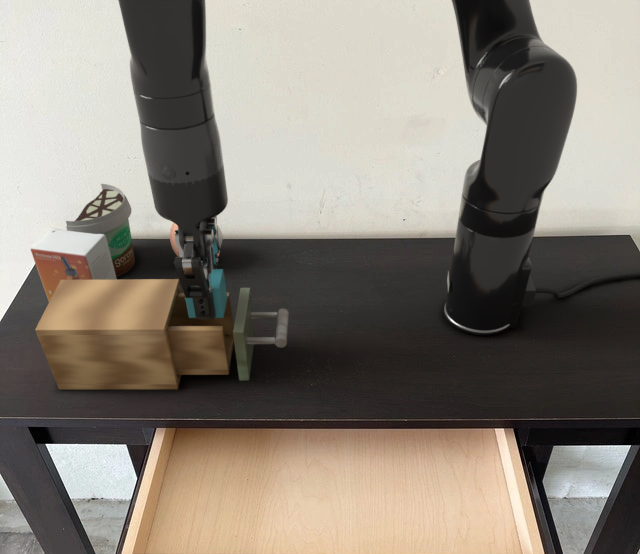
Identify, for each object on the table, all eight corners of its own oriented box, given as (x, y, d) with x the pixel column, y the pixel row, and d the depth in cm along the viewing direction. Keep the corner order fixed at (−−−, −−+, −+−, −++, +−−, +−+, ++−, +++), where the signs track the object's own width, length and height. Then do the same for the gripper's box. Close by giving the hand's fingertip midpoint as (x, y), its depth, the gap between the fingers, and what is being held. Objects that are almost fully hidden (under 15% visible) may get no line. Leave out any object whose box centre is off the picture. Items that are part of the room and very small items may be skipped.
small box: (52, 316, 91) (27, 248, 83) (72, 293, 95) (50, 226, 87) (105, 323, 89) (85, 255, 82) (124, 300, 93) (105, 233, 86)
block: (227, 297, 79) (223, 268, 76) (223, 317, 76) (219, 288, 73) (194, 298, 79) (188, 269, 76) (189, 318, 76) (183, 288, 73)
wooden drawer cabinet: (190, 337, 87) (178, 278, 81) (178, 389, 80) (164, 329, 73) (81, 338, 87) (60, 279, 81) (58, 389, 80) (34, 329, 74)
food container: (123, 290, 95) (106, 227, 88) (83, 286, 96) (63, 222, 89) (155, 246, 103) (141, 185, 96) (118, 242, 104) (102, 181, 97)
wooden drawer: (291, 335, 86) (288, 287, 80) (288, 380, 80) (284, 332, 74) (152, 335, 86) (140, 288, 81) (138, 380, 80) (124, 332, 75)
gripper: (213, 196, 60) (234, 344, 72) (230, 133, 70) (246, 272, 82) (131, 197, 60) (166, 344, 72) (160, 134, 70) (186, 273, 82)
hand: (208, 305), depth 77 cm, fingers closed on block, 4 cm apart
